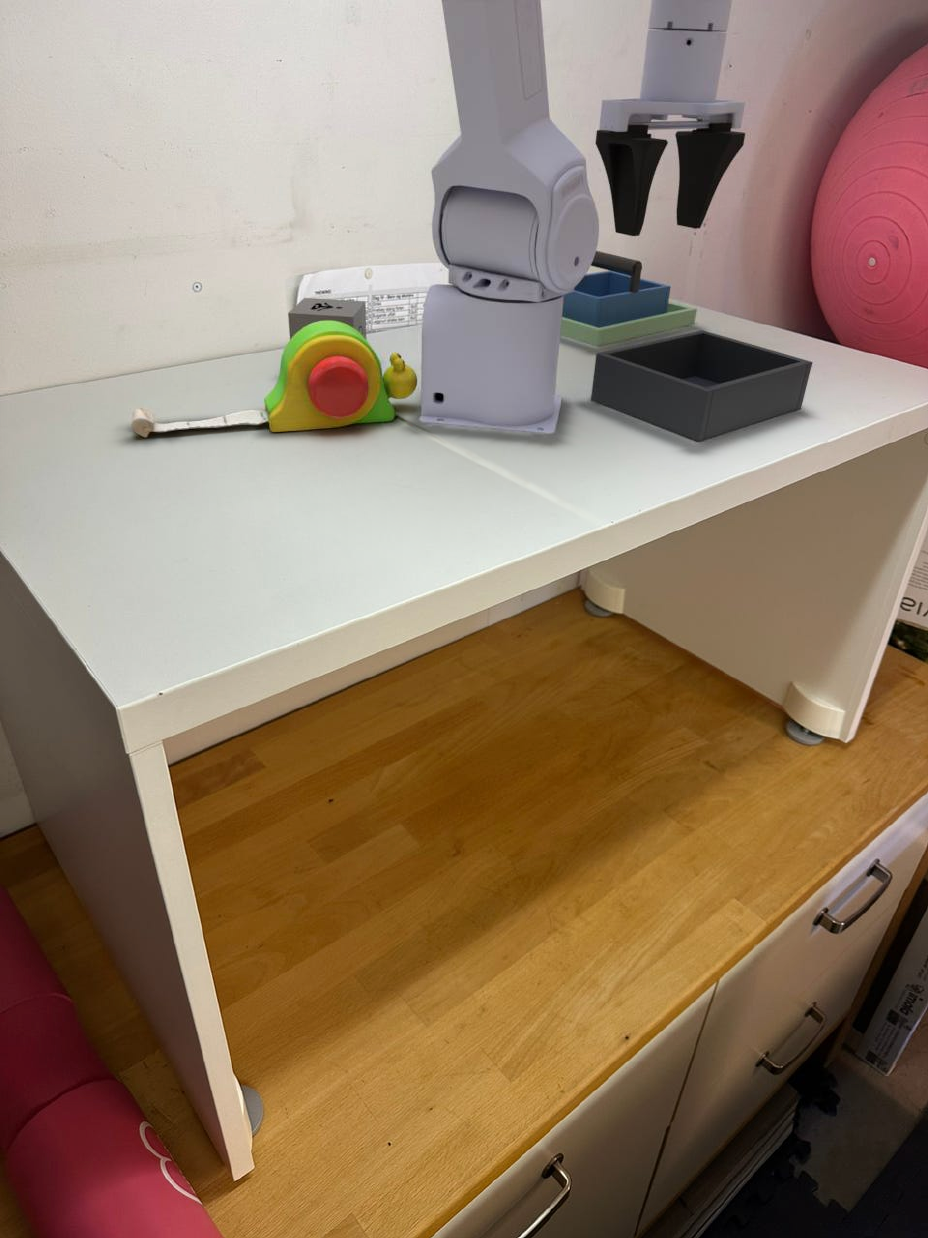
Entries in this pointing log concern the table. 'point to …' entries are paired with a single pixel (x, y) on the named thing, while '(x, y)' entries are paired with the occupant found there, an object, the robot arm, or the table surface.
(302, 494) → the table surface
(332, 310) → the dark gray cube
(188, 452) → the table surface
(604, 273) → the blue bin
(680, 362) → the charcoal bin
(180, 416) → the table surface
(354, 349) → the toy measuring tape
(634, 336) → the green tray
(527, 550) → the table surface
